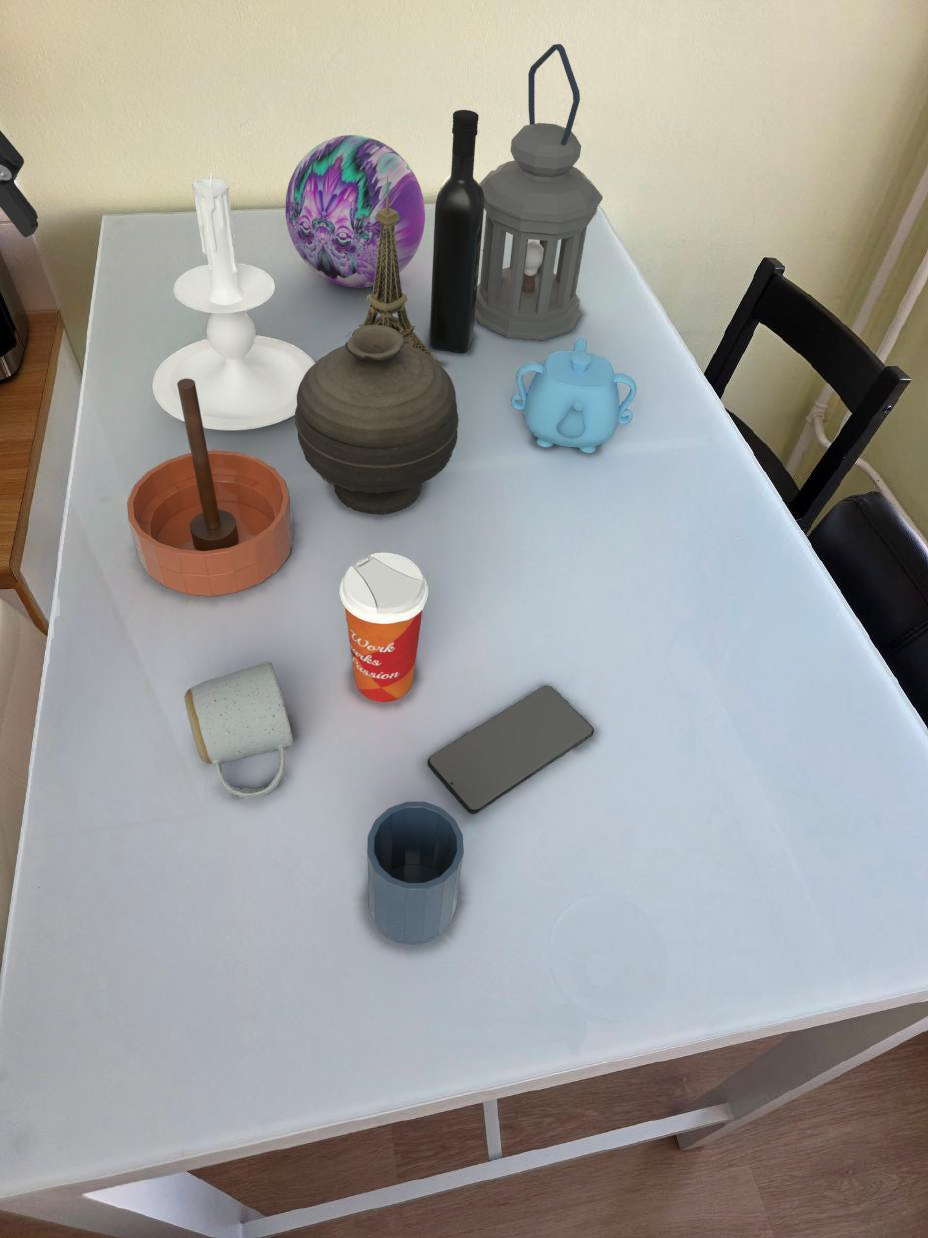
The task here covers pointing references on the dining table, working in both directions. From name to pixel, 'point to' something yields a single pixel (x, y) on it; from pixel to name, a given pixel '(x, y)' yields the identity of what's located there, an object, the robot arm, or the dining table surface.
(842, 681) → the dining table surface
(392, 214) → the eiffel tower
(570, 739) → the smartphone
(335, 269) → the decorative sphere
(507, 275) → the lantern
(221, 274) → the candlestick
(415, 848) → the crock
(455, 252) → the wine bottle
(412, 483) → the pot
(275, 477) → the mixing bowl
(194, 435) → the brown wooden plunger
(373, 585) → the paper cup
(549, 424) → the blue sugar bowl
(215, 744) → the ceramic mug
